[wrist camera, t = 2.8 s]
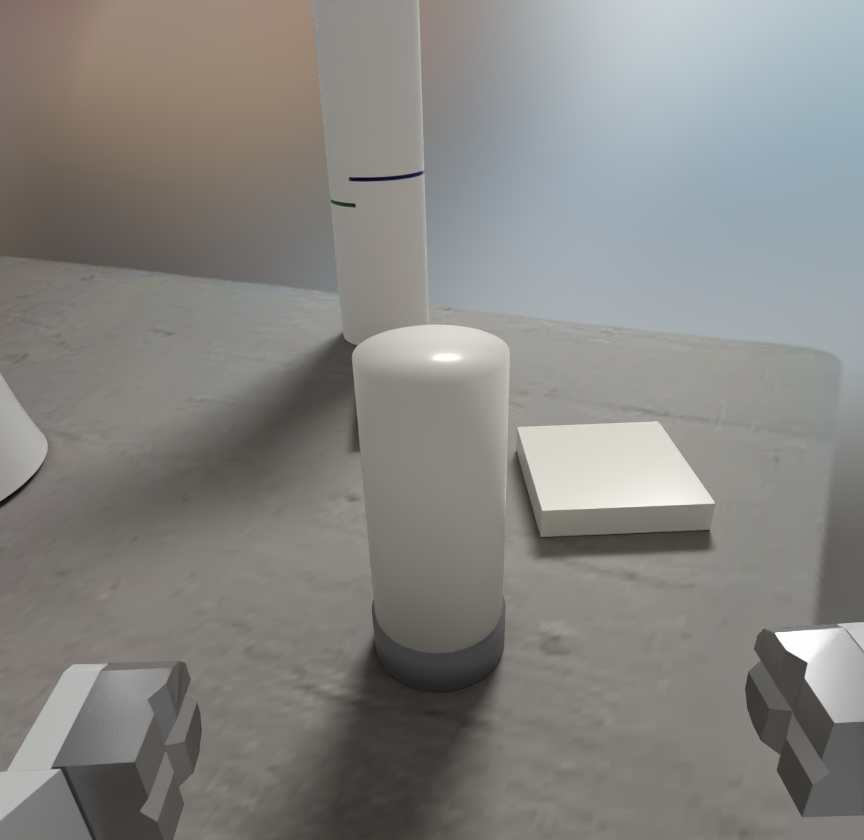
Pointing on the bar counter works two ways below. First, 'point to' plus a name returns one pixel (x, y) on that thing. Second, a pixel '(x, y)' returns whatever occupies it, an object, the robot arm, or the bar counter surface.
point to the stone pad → (610, 480)
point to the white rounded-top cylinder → (435, 499)
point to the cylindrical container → (374, 160)
